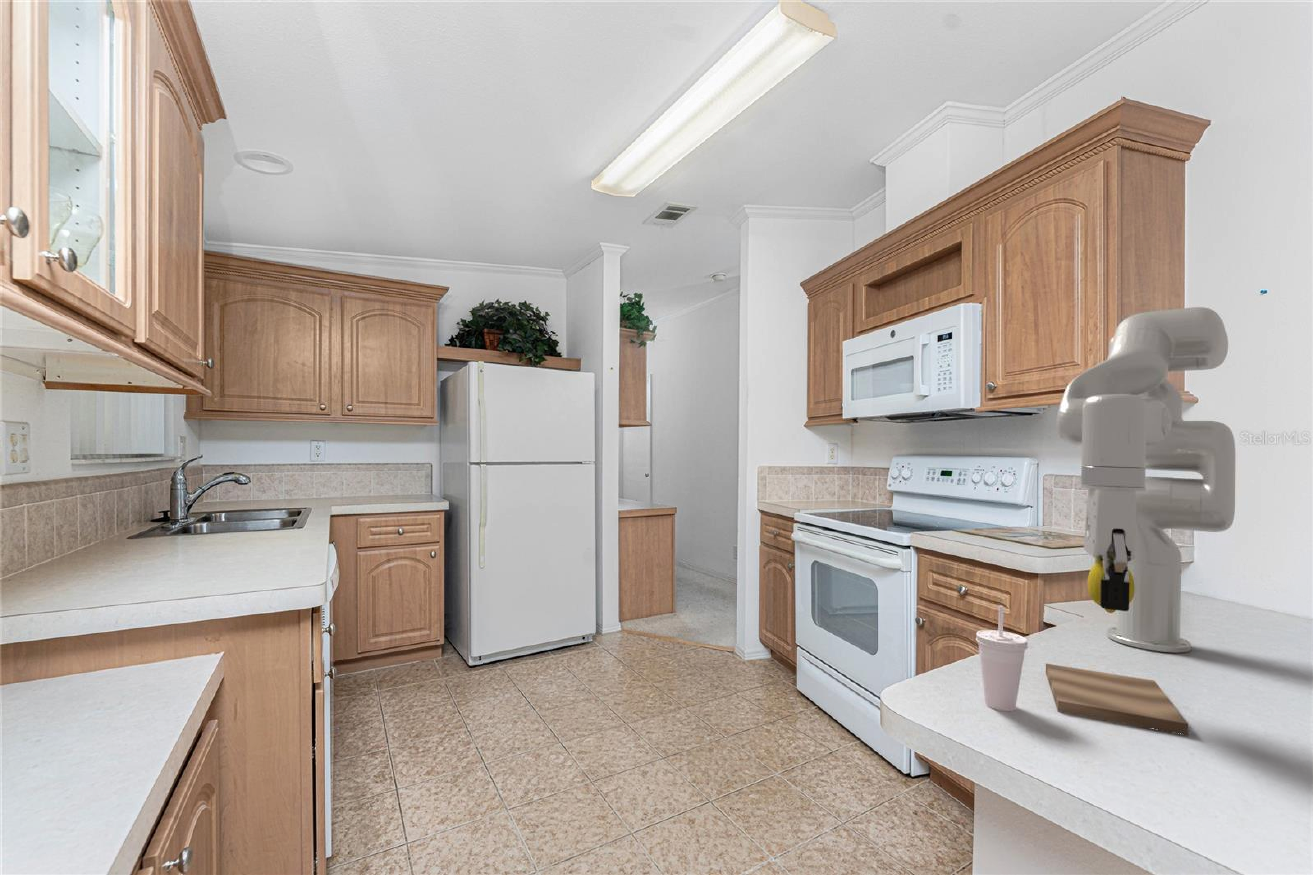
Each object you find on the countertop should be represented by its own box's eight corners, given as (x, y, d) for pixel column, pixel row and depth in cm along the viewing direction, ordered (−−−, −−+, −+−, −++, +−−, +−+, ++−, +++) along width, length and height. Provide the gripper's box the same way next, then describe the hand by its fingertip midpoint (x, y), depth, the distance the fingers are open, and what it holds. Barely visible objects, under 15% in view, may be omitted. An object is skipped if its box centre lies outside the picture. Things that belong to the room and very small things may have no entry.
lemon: (1142, 619, 86) (1143, 562, 87) (1098, 616, 88) (1099, 559, 88) (1121, 609, 92) (1122, 555, 92) (1079, 606, 93) (1080, 553, 93)
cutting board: (1045, 672, 100) (1045, 663, 100) (1154, 690, 94) (1154, 680, 94) (1057, 711, 85) (1057, 700, 85) (1188, 735, 79) (1188, 724, 79)
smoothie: (968, 705, 87) (970, 604, 87) (981, 692, 91) (983, 597, 91) (1020, 720, 82) (1022, 614, 82) (1031, 706, 87) (1033, 606, 87)
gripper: (1073, 476, 99) (1071, 589, 99) (1090, 480, 84) (1088, 614, 84) (1131, 479, 96) (1129, 596, 96) (1160, 483, 81) (1158, 623, 80)
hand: (1110, 603), depth 90 cm, fingers closed on lemon, 5 cm apart
